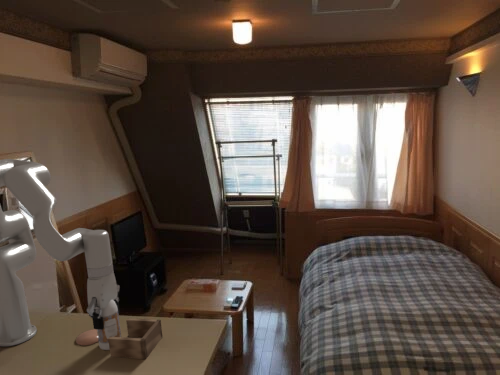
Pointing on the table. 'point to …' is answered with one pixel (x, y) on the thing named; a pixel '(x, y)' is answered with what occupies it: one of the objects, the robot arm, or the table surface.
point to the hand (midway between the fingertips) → (107, 320)
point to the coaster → (87, 338)
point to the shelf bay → (137, 339)
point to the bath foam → (109, 325)
